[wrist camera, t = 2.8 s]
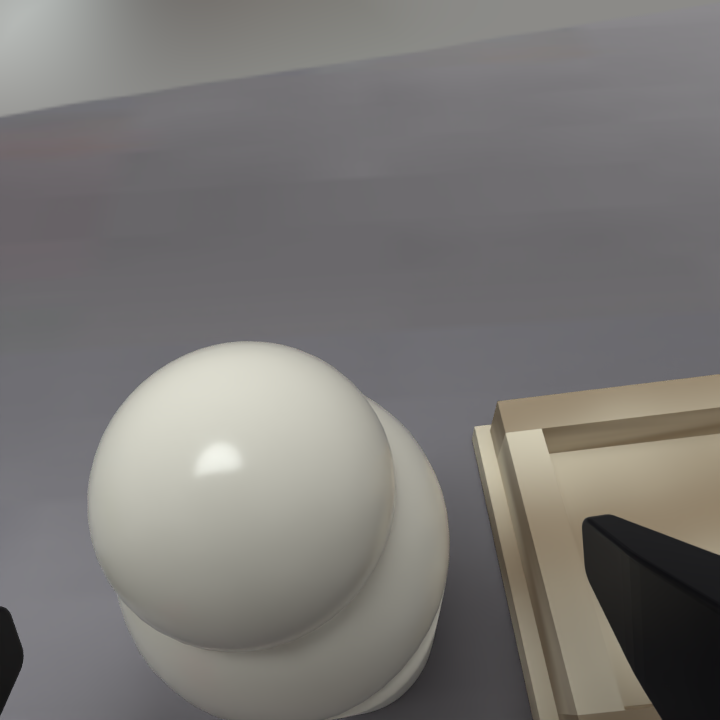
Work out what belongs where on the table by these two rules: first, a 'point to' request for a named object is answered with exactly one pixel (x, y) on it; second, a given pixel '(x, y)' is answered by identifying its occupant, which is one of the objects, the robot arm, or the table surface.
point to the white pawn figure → (270, 535)
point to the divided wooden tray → (585, 499)
